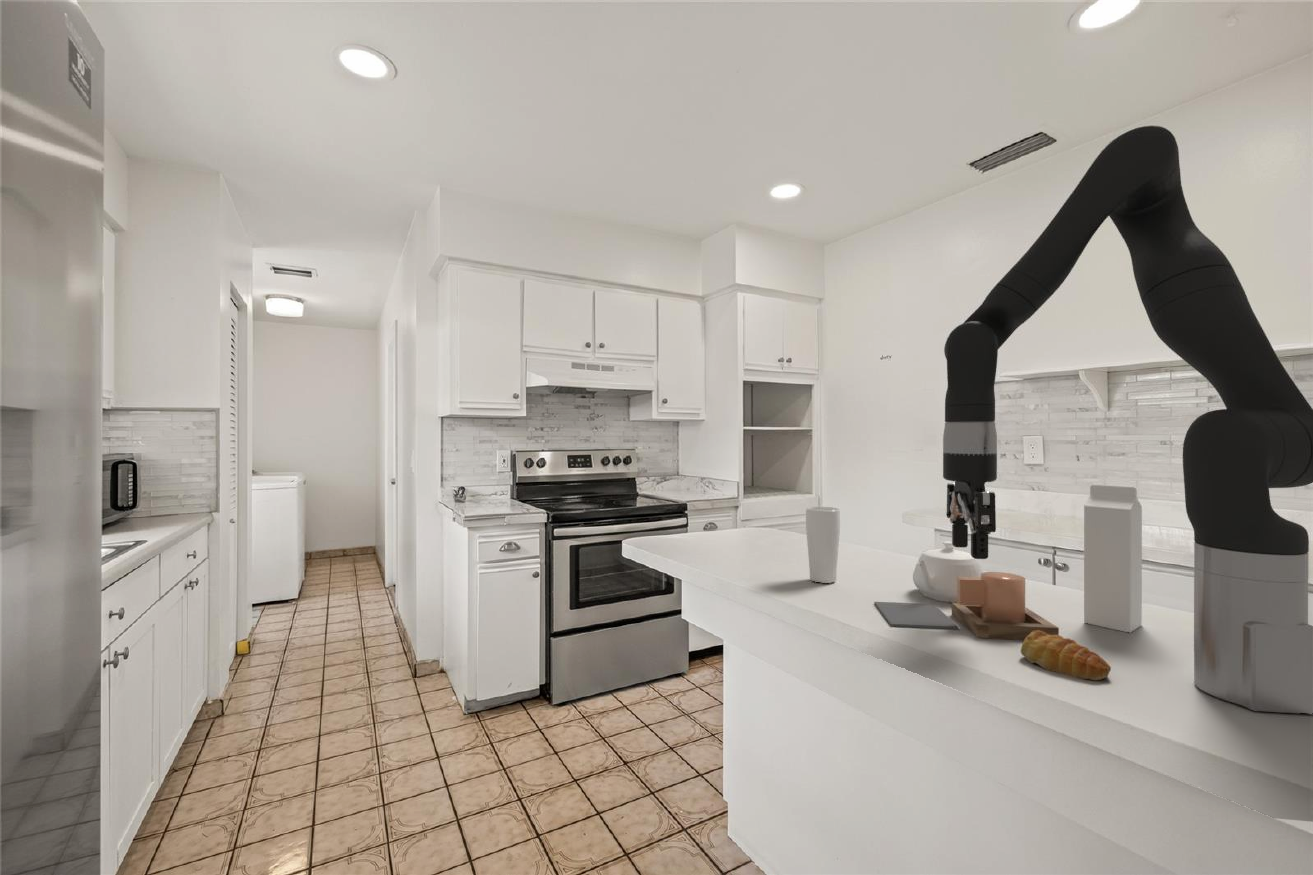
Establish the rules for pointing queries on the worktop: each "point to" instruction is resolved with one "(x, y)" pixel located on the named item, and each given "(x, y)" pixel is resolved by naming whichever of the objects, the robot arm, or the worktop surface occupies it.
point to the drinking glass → (823, 542)
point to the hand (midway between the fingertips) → (969, 552)
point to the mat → (915, 615)
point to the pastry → (1063, 656)
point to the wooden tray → (1001, 624)
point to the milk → (1113, 558)
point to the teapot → (944, 572)
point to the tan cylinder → (994, 596)
